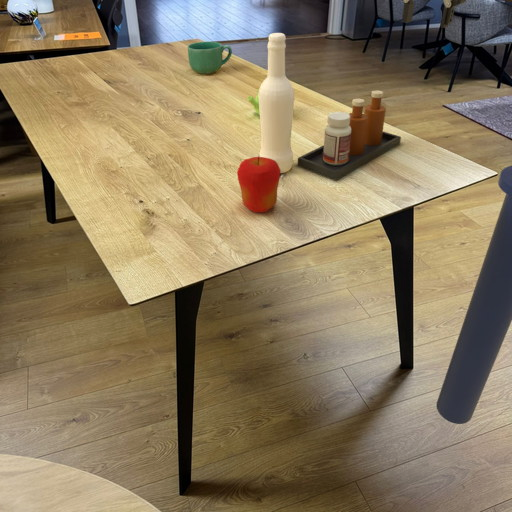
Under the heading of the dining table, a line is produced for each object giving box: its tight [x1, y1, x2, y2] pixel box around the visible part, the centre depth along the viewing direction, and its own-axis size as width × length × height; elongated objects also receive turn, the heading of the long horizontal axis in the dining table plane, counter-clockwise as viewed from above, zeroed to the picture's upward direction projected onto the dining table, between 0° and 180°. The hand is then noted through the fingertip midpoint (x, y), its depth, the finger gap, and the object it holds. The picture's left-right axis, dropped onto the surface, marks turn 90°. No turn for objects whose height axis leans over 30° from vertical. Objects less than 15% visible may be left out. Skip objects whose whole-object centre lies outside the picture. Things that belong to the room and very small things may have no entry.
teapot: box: [247, 87, 260, 116], centre depth 142 cm, size 11×12×8 cm
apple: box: [236, 155, 281, 213], centre depth 97 cm, size 9×8×12 cm
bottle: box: [257, 32, 295, 175], centre depth 107 cm, size 8×8×30 cm
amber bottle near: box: [348, 98, 368, 155], centre depth 117 cm, size 5×5×13 cm
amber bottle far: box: [363, 89, 387, 146], centre depth 121 cm, size 5×5×13 cm
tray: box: [297, 131, 402, 181], centre depth 120 cm, size 28×12×2 cm, turn 135°
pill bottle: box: [323, 111, 351, 165], centre depth 113 cm, size 6×6×11 cm
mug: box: [187, 41, 233, 75], centre depth 180 cm, size 17×13×10 cm
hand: (425, 24), depth 101 cm, fingers open, 8 cm apart
